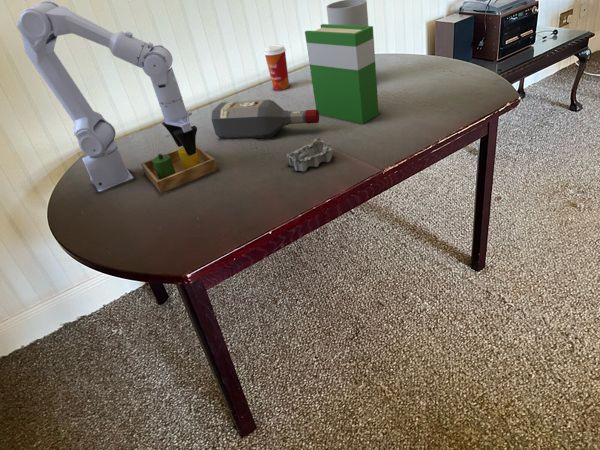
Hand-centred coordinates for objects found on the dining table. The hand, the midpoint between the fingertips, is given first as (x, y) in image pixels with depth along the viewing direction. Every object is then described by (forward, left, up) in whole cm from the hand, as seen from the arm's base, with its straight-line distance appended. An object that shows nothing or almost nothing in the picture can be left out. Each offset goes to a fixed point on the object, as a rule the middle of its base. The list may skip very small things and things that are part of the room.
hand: (186, 149), depth 121 cm
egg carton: (+24, -22, -6) cm, 33 cm away
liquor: (+15, +14, -1) cm, 20 cm away
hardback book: (+48, -5, -6) cm, 48 cm away
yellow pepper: (0, 0, -5) cm, 5 cm away
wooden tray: (-4, 0, -6) cm, 7 cm away
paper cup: (+48, +34, -6) cm, 59 cm away
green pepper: (-7, 0, -5) cm, 9 cm away
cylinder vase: (+66, +15, -6) cm, 68 cm away
